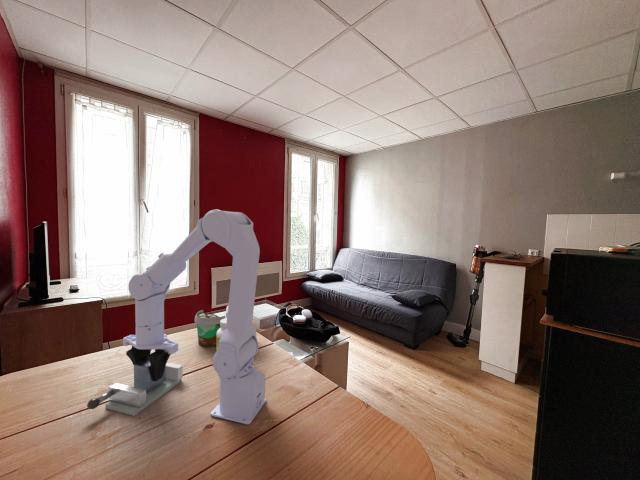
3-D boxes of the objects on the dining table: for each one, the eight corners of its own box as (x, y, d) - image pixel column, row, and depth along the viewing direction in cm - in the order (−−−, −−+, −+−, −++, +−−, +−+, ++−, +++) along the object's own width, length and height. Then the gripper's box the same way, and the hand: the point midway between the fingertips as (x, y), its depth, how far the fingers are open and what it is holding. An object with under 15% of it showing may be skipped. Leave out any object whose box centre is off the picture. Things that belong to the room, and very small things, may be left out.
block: (147, 392, 60) (147, 367, 59) (134, 389, 61) (133, 364, 60) (165, 380, 65) (165, 356, 64) (152, 377, 66) (152, 354, 65)
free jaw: (146, 402, 57) (145, 389, 57) (117, 423, 51) (117, 409, 51) (115, 394, 59) (115, 382, 59) (84, 413, 53) (84, 400, 53)
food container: (186, 343, 88) (186, 314, 88) (202, 336, 94) (202, 309, 93) (210, 352, 82) (211, 321, 82) (226, 344, 88) (226, 315, 87)
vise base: (182, 381, 67) (182, 365, 67) (135, 416, 55) (135, 397, 54) (155, 375, 69) (155, 360, 69) (104, 408, 57) (104, 389, 56)
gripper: (187, 320, 64) (187, 373, 65) (141, 313, 68) (142, 364, 68) (164, 331, 57) (164, 390, 58) (113, 323, 61) (114, 379, 62)
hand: (150, 377), depth 63 cm, fingers closed on block, 4 cm apart
